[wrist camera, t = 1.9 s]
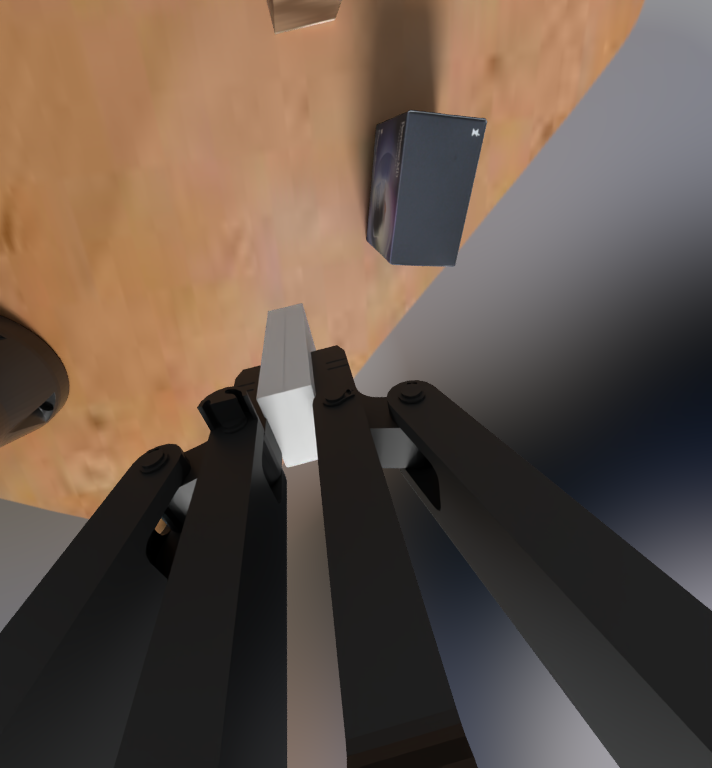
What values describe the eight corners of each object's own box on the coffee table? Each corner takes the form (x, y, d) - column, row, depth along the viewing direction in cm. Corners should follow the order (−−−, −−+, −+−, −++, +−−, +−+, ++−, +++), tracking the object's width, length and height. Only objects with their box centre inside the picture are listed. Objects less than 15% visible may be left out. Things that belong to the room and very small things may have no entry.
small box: (371, 121, 31) (405, 104, 23) (437, 128, 33) (493, 115, 24) (362, 242, 37) (387, 266, 28) (418, 245, 38) (459, 267, 30)
